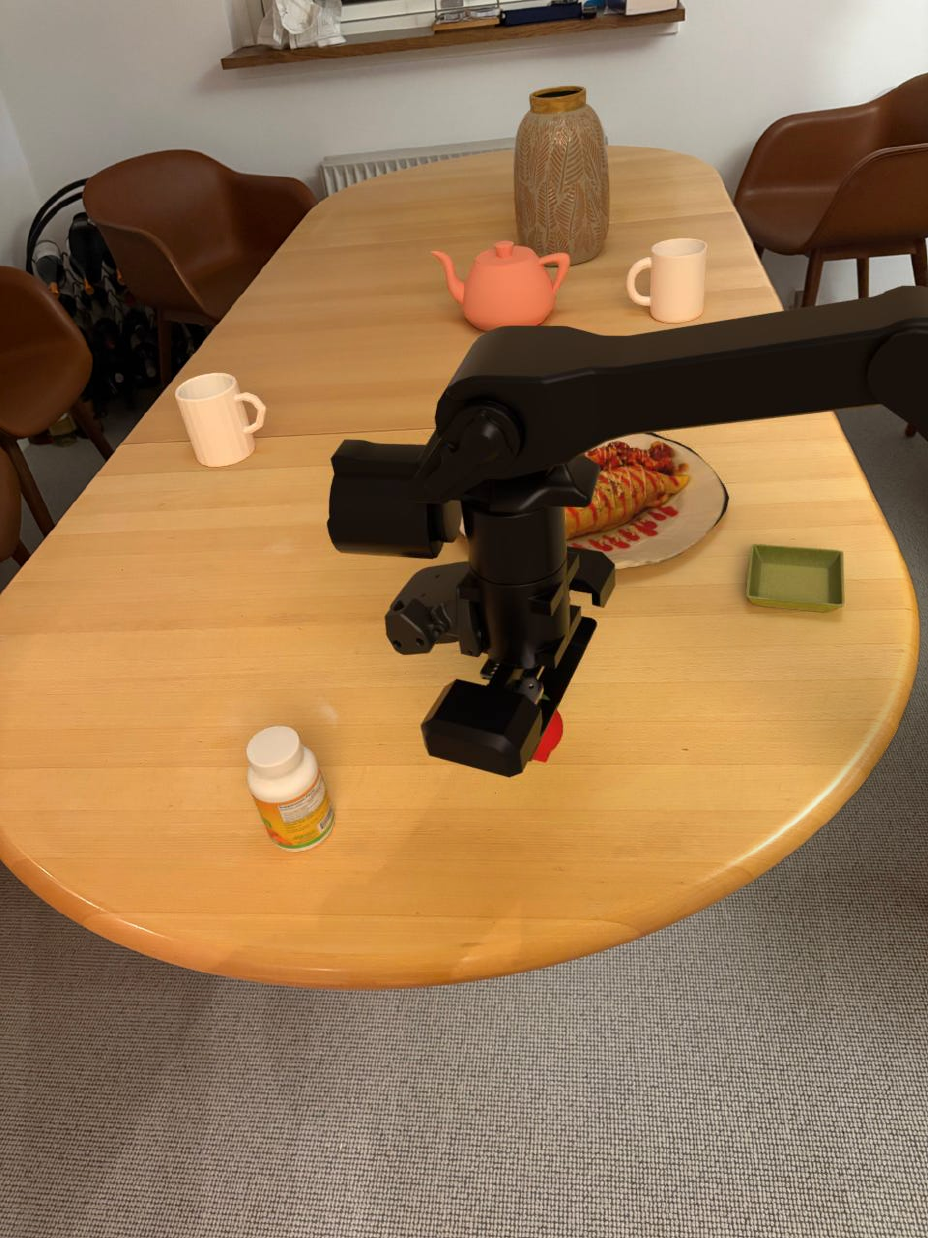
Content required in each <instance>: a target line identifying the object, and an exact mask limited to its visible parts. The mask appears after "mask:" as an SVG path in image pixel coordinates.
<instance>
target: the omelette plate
mask: <svg viewBox="0 0 928 1238" xmlns="http://www.w3.org/2000/svg"><path fill="white" fill-rule="evenodd" d="M583 455H584V456H587V457H588V458H590V459H591V460H592V461H594V462H595V463H597V464H598V465H599V466H600V474H599V477H598V480H597V484H596V487H595V491H594V494H593V498H592V501H591V504H590V505H589V506H588V507H586V508H579V507H565V524H566V542H567V546H570V547H577V548H583V549H589V550H595V551H602V552H603V553H604V554H605V555H606V556H607V557H608V558H609V559H610V560H611V561H612V562H613V563H614V564H615V570H621V569H626V568H633V567H639V566H646V565H647V566H648V565H652V564H657V563H658V564H659V563H661V562H662V563H663V562H664V561H668V560H671V559H674V558H676V557H678V556H680V555H682V554H683V553H684V552H685V551H687V550H688V549H689V548H691V547H693V546H694V545H697V544H698V543H700V542H701V541H702V539H704V537H706V535H708V533H710V531H711V530H713V529H714V528H715V527H716V526H717V525H718V523H719V522H720V521H721V520H722V518H723V516H725V513H726V512H727V509H728V505H729V500H730V496H729V493H728V490H727V487H726V486H725V484H724V483H723V481H722V479H721V478H720V476H719V475H718V473H717V472H716V471H715V470H714V469H713V467H712V466H711V465H710V464H709V463H708V462H706V460H705V459H704V458H703V457H701V456H700V455H699V454H698V453H697V452H696V451H695V450H694V449H692V448H691V447H689V446H687V445H685V444H683V443H681V442H679V441H676V440H673V439H669V438H666V437H664V436H661V435H659V434H657V433H656V432H652V433H643V434H635V435H629V436H625V437H622V438H618V439H615V440H611V441H608V442H605V443H603V444H601V445H599V446H598V447H596V448H594V449H592V450H590V451H588V452H586V453H584V454H583ZM459 533H460V534H461V535H462V537H464V539H465V540H466V537H465V531H464V524H463V517H462V519H461V526H460V530H459Z"/></svg>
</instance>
